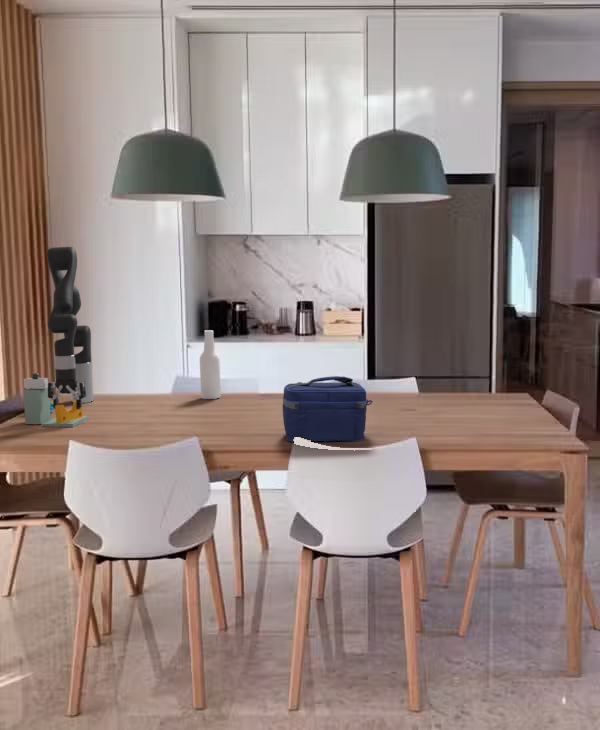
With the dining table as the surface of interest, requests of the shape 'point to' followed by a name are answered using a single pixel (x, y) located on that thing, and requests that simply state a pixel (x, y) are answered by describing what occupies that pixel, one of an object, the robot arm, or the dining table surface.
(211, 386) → the alcohol
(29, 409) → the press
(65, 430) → the dining table surface
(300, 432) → the lunch bag
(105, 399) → the dining table surface
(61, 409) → the yellow notched block
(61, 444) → the dining table surface
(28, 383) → the grey block
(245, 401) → the dining table surface
